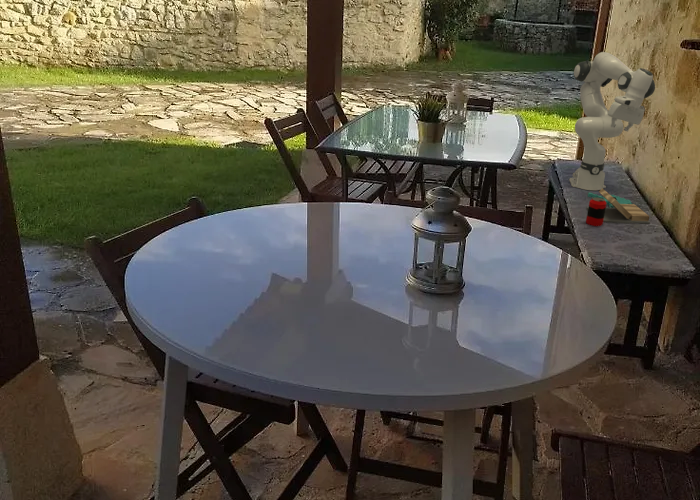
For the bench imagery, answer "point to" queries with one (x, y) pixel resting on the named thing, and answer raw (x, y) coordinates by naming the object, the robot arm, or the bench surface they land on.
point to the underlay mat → (618, 217)
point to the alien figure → (620, 200)
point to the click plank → (615, 203)
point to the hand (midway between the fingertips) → (619, 129)
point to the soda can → (596, 212)
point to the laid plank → (636, 213)
